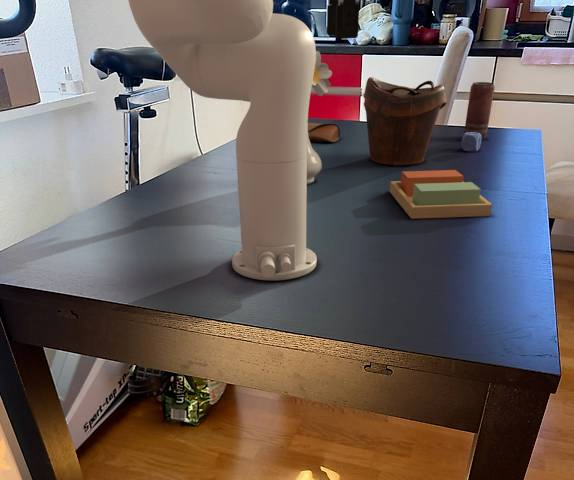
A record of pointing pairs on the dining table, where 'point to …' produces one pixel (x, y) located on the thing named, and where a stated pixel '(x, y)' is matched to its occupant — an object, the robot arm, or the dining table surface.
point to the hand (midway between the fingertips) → (341, 36)
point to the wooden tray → (438, 206)
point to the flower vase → (312, 157)
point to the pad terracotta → (427, 178)
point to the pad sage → (445, 194)
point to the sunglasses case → (323, 132)
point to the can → (479, 108)
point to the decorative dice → (471, 141)
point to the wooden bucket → (401, 120)
